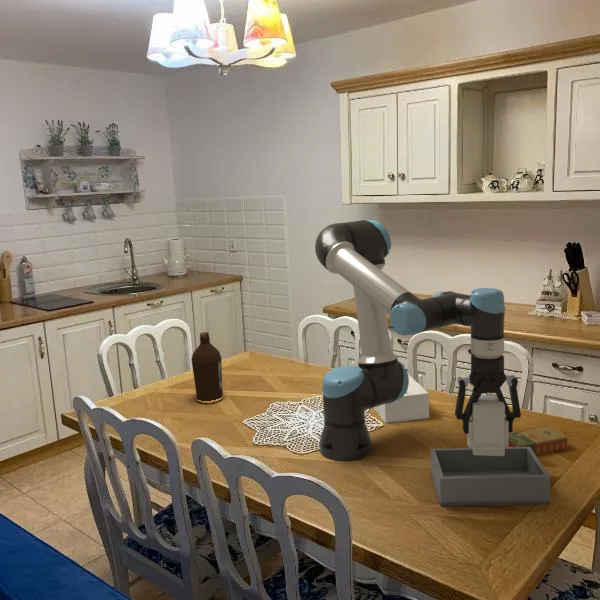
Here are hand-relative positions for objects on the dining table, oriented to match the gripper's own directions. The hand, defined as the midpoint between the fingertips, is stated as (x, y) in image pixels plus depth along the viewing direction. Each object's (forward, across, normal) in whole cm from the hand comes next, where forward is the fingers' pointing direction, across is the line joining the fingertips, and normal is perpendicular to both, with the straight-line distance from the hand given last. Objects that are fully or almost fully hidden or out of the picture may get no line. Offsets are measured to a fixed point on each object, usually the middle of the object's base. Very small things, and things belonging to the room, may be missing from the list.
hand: (487, 444), depth 150 cm
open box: (+11, 0, 0) cm, 11 cm away
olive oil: (+11, -84, +68) cm, 108 cm away
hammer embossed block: (+12, -18, +56) cm, 60 cm away
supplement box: (+1, 0, 0) cm, 1 cm away
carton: (+12, +18, +22) cm, 31 cm away
